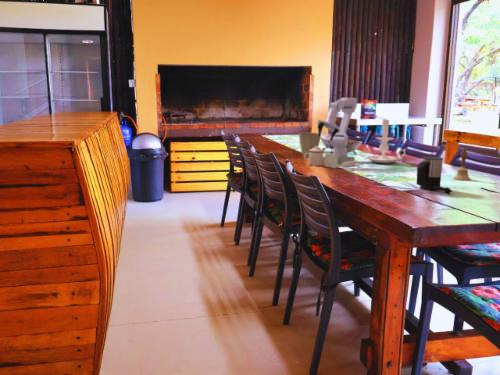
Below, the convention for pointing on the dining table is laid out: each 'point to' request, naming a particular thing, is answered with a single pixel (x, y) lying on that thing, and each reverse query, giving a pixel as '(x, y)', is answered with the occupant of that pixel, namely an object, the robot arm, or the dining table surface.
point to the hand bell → (462, 169)
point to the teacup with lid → (315, 156)
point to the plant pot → (308, 142)
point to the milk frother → (430, 174)
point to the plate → (331, 160)
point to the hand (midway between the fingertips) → (325, 137)
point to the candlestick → (385, 147)
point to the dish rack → (346, 161)
